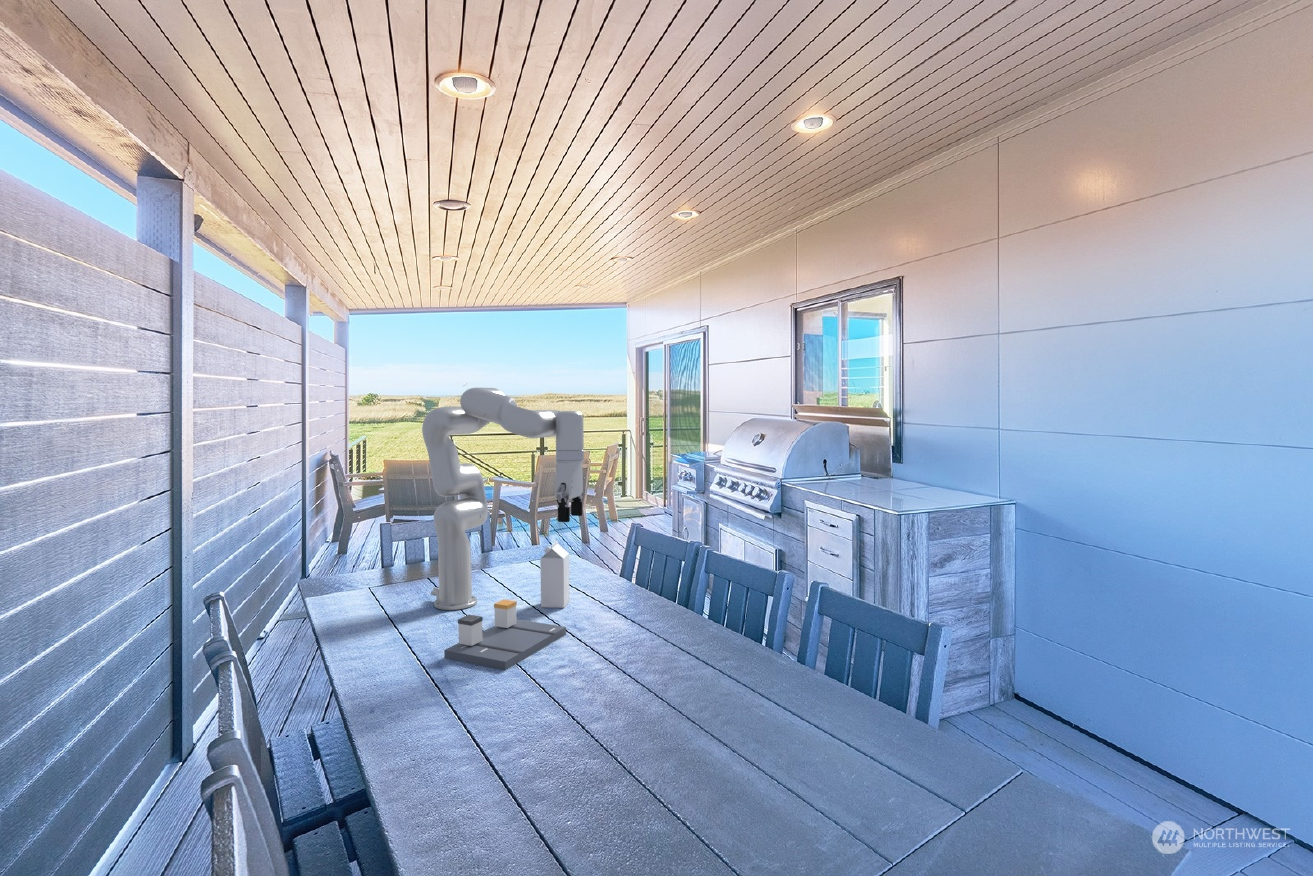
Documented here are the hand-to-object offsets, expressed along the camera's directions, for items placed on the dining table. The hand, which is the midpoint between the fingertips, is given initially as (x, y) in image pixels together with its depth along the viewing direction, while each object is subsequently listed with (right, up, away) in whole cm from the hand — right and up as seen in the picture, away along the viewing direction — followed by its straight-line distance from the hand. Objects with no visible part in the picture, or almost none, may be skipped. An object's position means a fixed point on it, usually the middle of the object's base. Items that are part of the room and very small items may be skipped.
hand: (570, 518), depth 186 cm
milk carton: (-7, -29, +20) cm, 36 cm away
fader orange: (-17, -28, -5) cm, 33 cm away
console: (-14, -30, -14) cm, 36 cm away
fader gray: (-22, -28, -18) cm, 40 cm away
